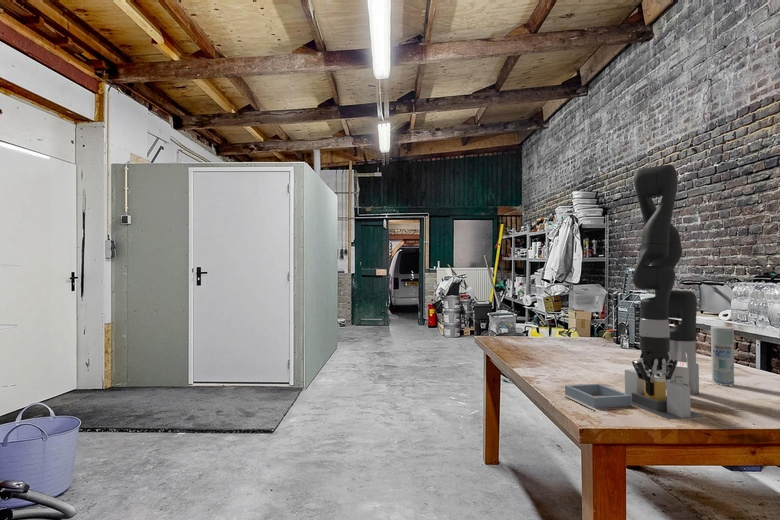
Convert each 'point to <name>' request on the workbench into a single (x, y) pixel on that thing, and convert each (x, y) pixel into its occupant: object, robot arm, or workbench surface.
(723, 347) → the spray can
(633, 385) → the fuse block
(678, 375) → the ink cartridge box
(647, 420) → the workbench surface
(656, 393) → the block
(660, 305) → the robot arm
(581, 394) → the tray
